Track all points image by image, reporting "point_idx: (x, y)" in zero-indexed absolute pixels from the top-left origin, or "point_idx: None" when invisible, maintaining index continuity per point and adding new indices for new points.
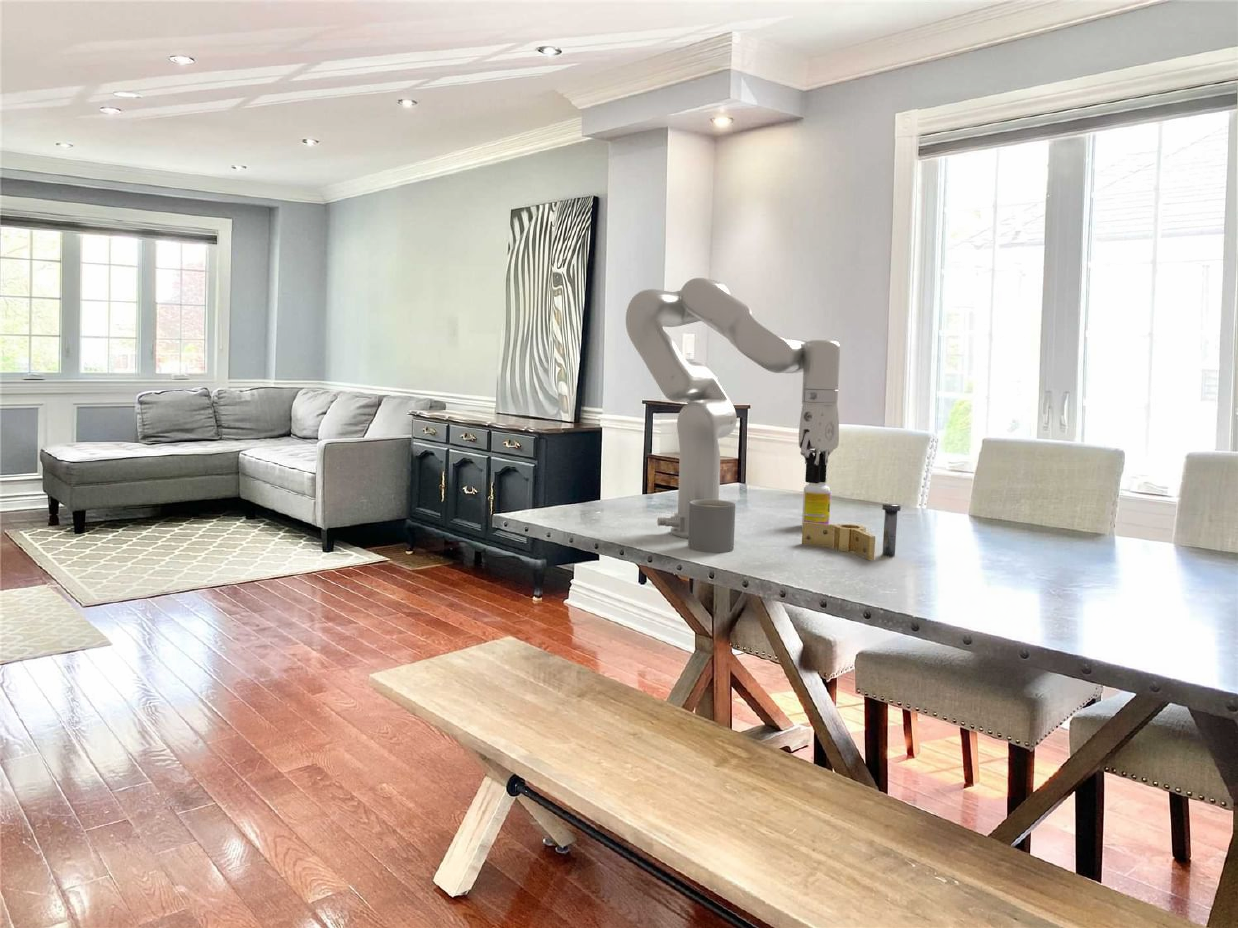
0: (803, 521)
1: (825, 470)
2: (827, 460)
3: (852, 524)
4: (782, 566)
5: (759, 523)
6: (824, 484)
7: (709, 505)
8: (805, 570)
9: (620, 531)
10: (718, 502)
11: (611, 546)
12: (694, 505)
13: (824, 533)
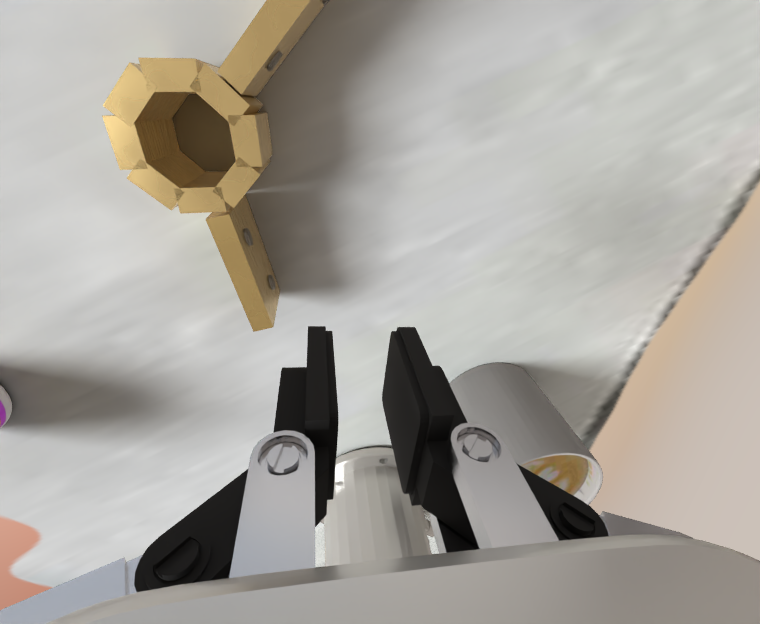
0: (1, 426)
1: (323, 378)
2: (257, 463)
3: (120, 158)
4: (605, 189)
5: (111, 491)
6: None
7: None
8: (632, 109)
9: None
10: None
11: None
12: (586, 502)
13: (250, 237)
